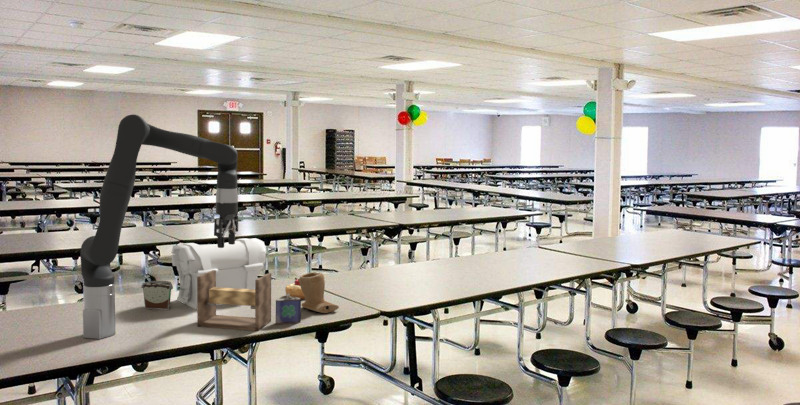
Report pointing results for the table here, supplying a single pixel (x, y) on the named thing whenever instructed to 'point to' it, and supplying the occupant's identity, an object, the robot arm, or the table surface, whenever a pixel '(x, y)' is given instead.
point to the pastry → (295, 290)
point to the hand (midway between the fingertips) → (226, 245)
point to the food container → (157, 294)
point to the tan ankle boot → (315, 293)
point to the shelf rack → (210, 319)
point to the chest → (218, 265)
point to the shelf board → (232, 296)
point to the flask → (288, 310)
